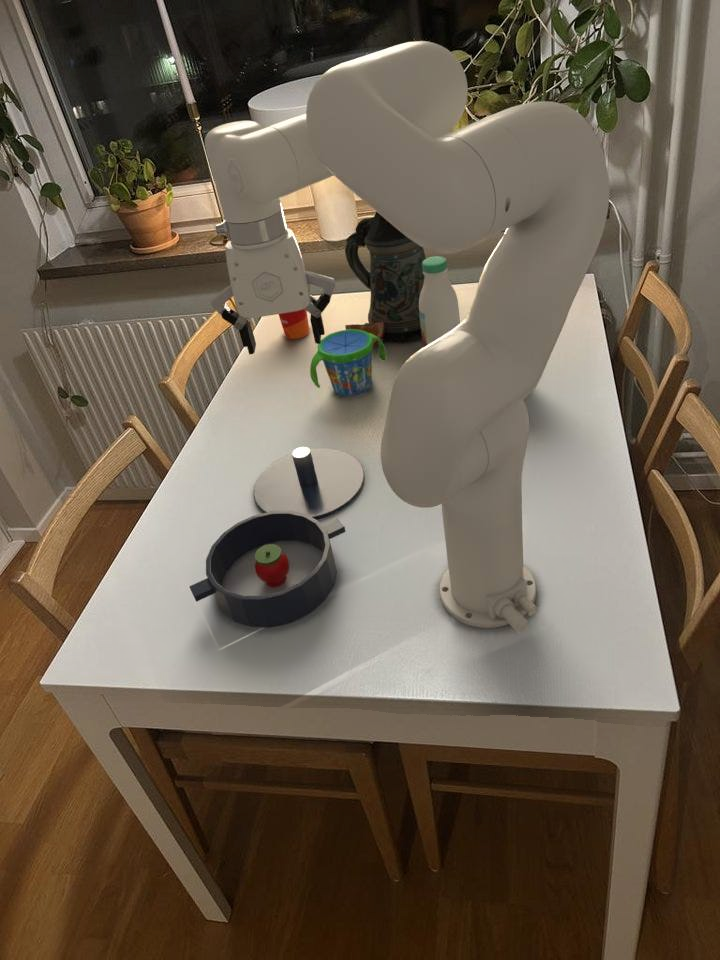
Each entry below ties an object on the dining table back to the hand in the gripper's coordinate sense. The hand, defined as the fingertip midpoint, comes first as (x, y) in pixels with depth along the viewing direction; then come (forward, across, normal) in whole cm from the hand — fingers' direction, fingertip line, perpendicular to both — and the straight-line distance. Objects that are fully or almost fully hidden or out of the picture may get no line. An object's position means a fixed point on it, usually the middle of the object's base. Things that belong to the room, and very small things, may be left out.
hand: (285, 344), depth 106 cm
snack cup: (+26, +6, +29) cm, 40 cm away
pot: (+26, -6, -21) cm, 34 cm away
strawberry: (+26, -6, -21) cm, 34 cm away
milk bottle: (+26, +25, +37) cm, 51 cm away
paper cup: (+26, -6, +57) cm, 63 cm away
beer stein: (+26, +17, +53) cm, 61 cm away
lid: (+26, -2, 0) cm, 26 cm away
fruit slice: (+23, +10, +46) cm, 53 cm away
